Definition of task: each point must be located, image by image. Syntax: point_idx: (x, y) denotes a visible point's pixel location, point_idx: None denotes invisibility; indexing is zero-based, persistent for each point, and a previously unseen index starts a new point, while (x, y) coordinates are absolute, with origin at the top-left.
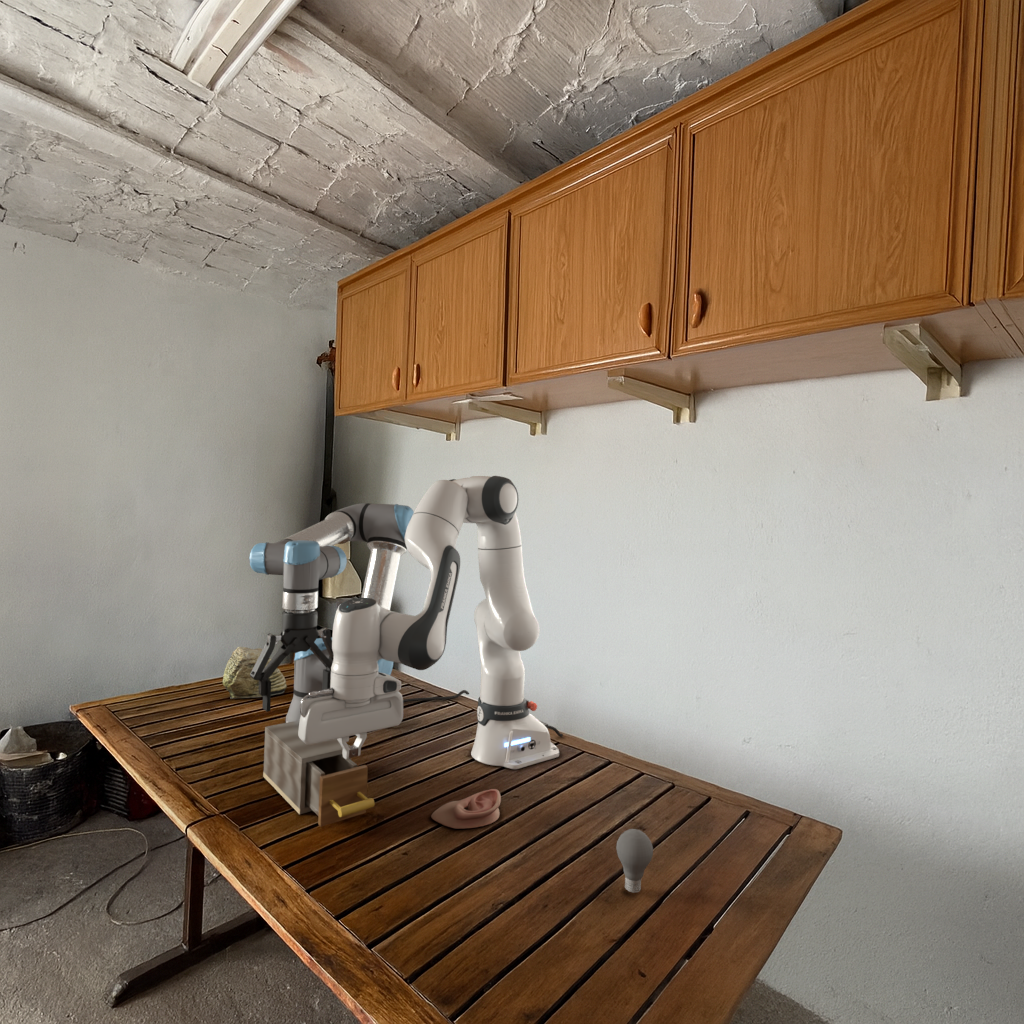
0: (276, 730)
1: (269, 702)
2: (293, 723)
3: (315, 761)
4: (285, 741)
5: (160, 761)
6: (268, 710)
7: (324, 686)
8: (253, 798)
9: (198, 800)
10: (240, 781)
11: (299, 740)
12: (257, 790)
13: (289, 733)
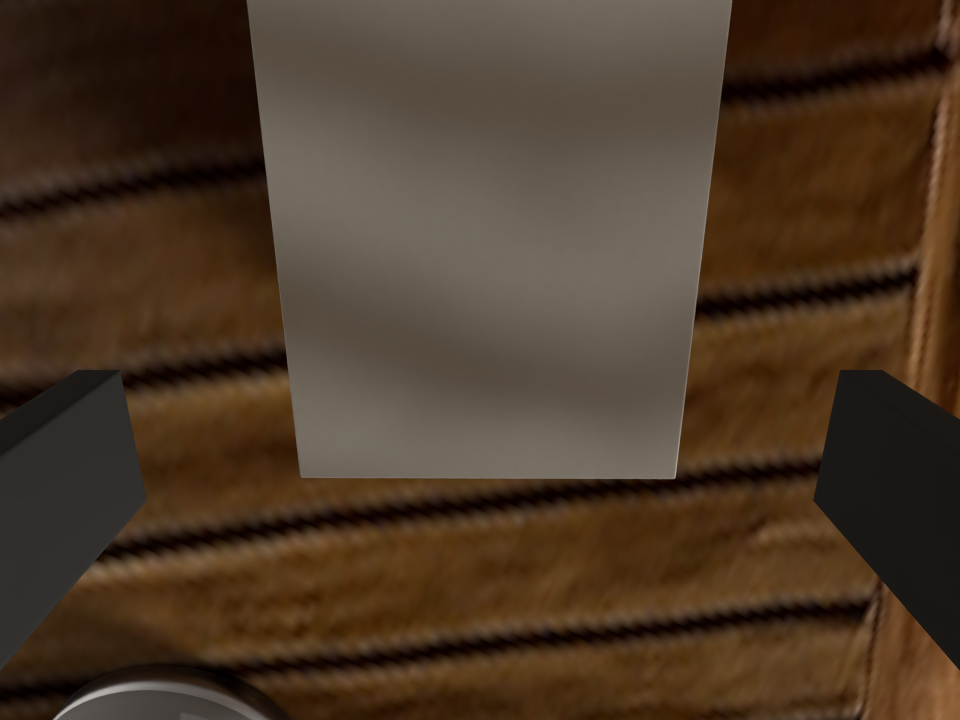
0: (641, 363)
1: (920, 416)
2: (465, 437)
3: None
4: (699, 66)
5: (875, 705)
6: (870, 372)
7: (40, 538)
8: (750, 131)
9: (951, 267)
10: (713, 356)
11: (585, 15)
12: None
13: (584, 240)
